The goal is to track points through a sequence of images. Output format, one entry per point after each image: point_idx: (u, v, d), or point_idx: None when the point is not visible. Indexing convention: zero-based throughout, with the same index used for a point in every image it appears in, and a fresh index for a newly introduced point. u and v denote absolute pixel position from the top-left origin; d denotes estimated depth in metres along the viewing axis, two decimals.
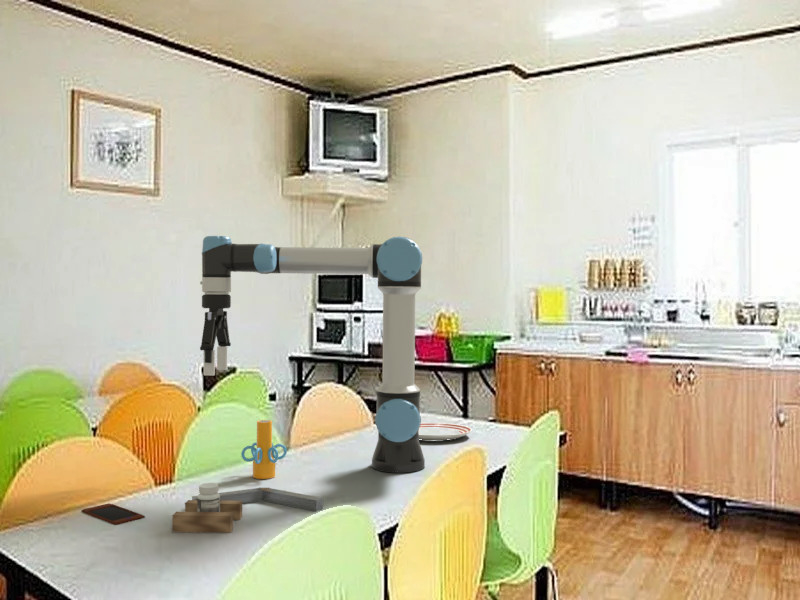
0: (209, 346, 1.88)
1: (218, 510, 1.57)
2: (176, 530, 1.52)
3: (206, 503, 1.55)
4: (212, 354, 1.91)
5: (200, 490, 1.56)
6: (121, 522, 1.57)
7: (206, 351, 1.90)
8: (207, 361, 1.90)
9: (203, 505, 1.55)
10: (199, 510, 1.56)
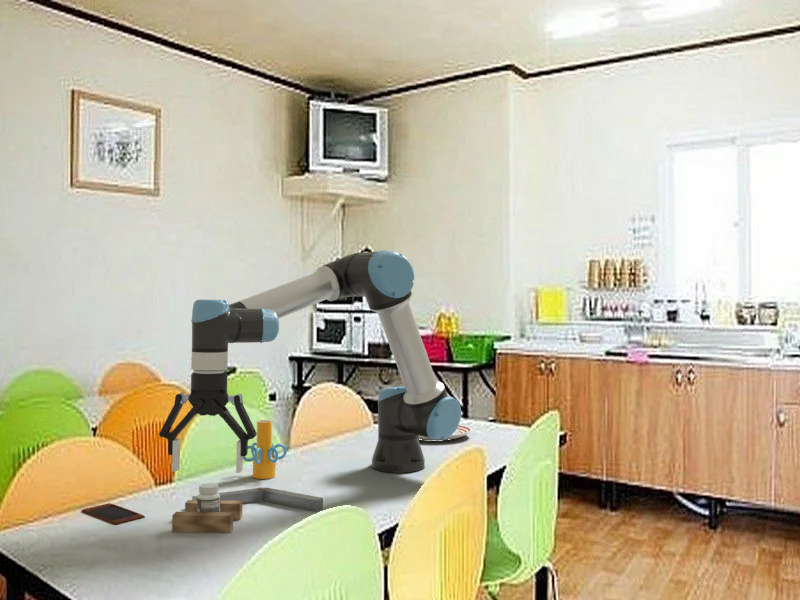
0: None
1: (218, 510, 1.57)
2: (176, 530, 1.52)
3: (206, 503, 1.55)
4: (172, 445, 1.56)
5: (200, 490, 1.56)
6: (121, 522, 1.57)
7: None
8: None
9: (203, 505, 1.55)
10: (199, 510, 1.56)
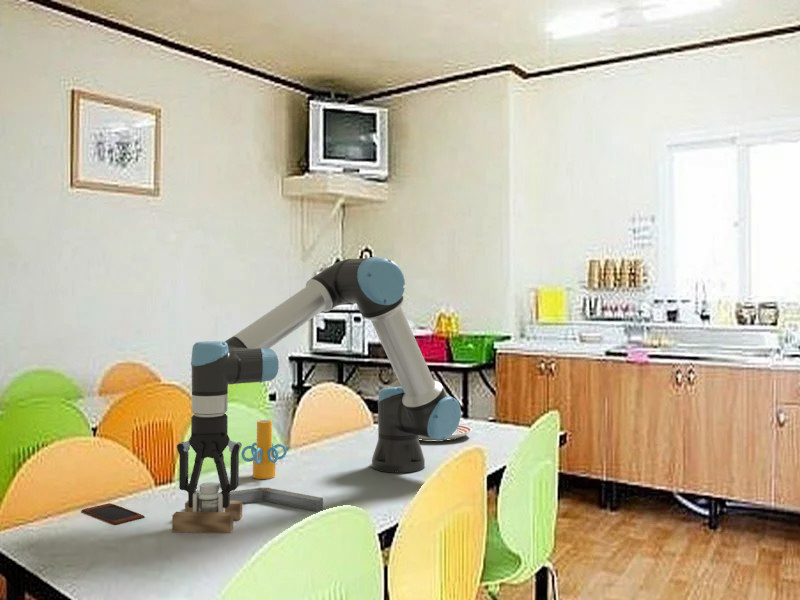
0: None
1: None
2: (176, 530, 1.52)
3: (206, 503, 1.55)
4: (193, 498, 1.57)
5: (201, 489, 1.56)
6: (121, 522, 1.57)
7: None
8: None
9: (204, 504, 1.56)
10: (200, 509, 1.56)
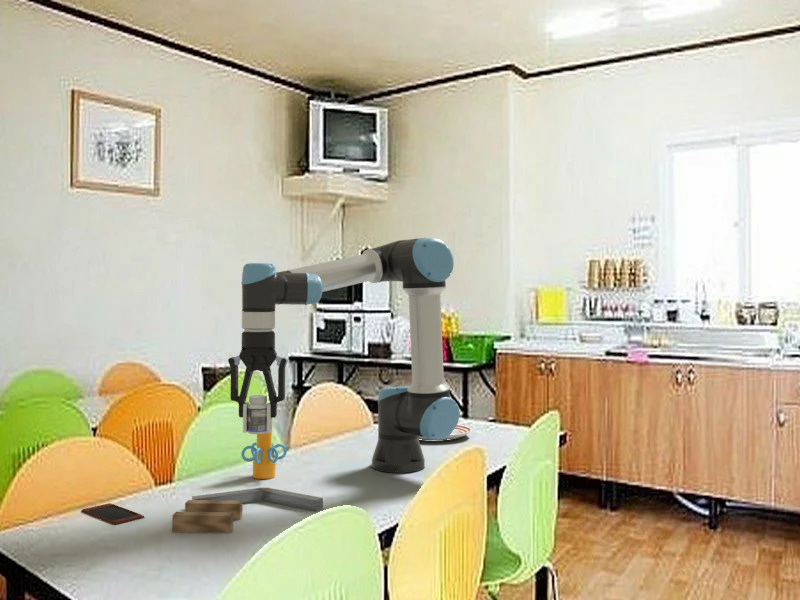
0: None
1: None
2: (176, 530, 1.52)
3: (256, 412, 1.67)
4: (243, 408, 1.68)
5: (250, 400, 1.68)
6: (120, 522, 1.57)
7: None
8: None
9: (254, 413, 1.67)
10: (250, 418, 1.68)
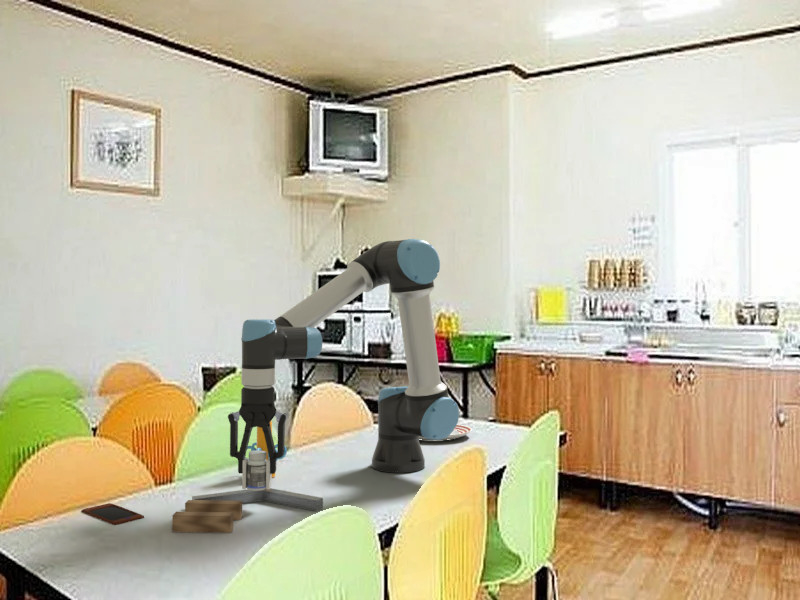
0: None
1: None
2: (176, 530, 1.52)
3: (255, 468, 1.67)
4: (242, 464, 1.69)
5: (250, 456, 1.68)
6: (120, 522, 1.57)
7: None
8: None
9: (253, 470, 1.67)
10: (249, 475, 1.68)
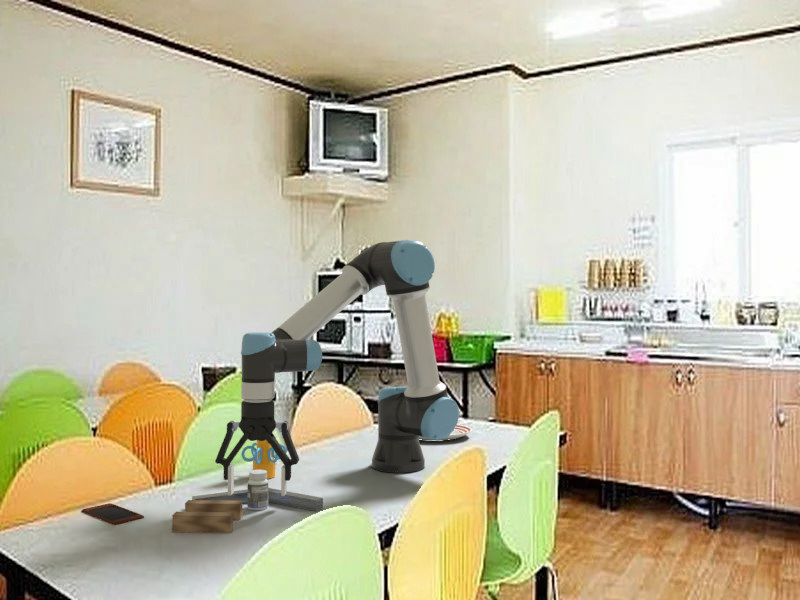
0: None
1: (267, 495, 1.69)
2: (176, 530, 1.52)
3: (256, 488, 1.68)
4: (228, 471, 1.69)
5: (250, 476, 1.68)
6: (120, 522, 1.57)
7: None
8: None
9: (254, 489, 1.68)
10: (250, 494, 1.68)
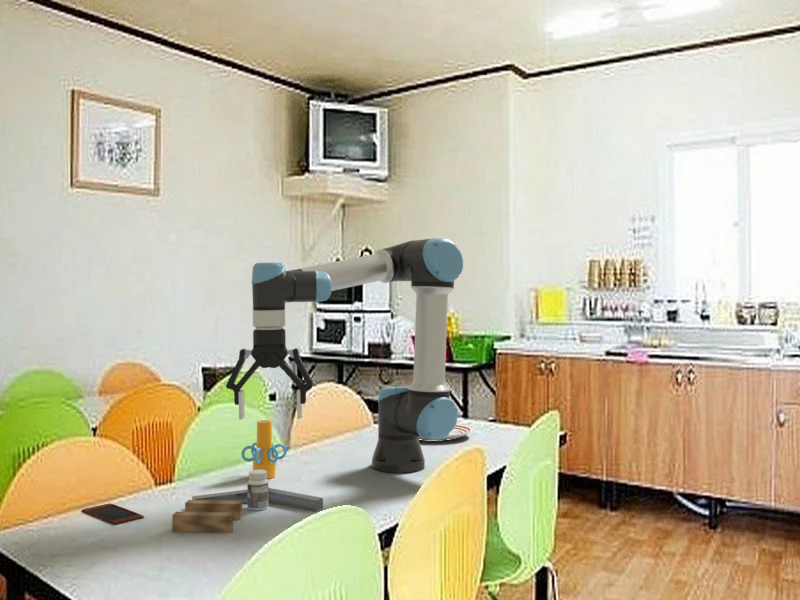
0: None
1: (267, 495, 1.69)
2: (176, 530, 1.52)
3: (256, 488, 1.67)
4: (238, 396, 1.73)
5: (250, 476, 1.68)
6: (120, 522, 1.57)
7: None
8: None
9: (254, 490, 1.68)
10: (249, 495, 1.68)
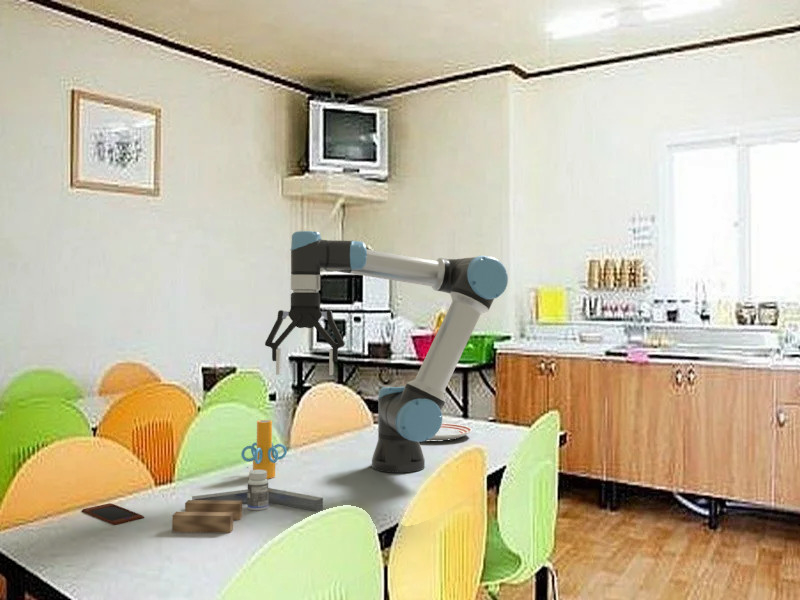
0: None
1: (267, 495, 1.69)
2: (176, 530, 1.52)
3: (256, 488, 1.68)
4: (276, 353, 1.88)
5: (250, 476, 1.68)
6: (120, 522, 1.57)
7: None
8: None
9: (254, 489, 1.68)
10: (250, 494, 1.68)
